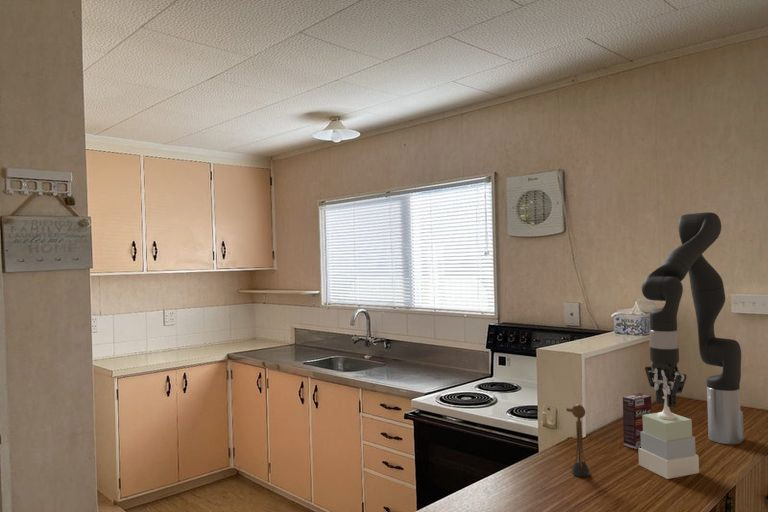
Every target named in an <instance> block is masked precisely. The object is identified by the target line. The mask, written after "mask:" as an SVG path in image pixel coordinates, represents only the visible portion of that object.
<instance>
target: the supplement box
mask: <svg viewBox="0 0 768 512" xmlns="http://www.w3.org/2000/svg"><path fill="white" fill-rule="evenodd" d="M652 413H653V412H652V396H651V395H648V394H646V393H645V394H644V393H636V394H631V395H628V396H623V397H622V421H623V423H622V424H623V425H622V426H623V427H622V428H623V429H622V430H623V431H622V432H623V446H624V447H625V446H626V447H628V448H630V449H633V448H634V449H633V450H637V449H638V448H640V447H641V436H640V432H641V431H643V418H642V415H646V414H652Z"/></svg>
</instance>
